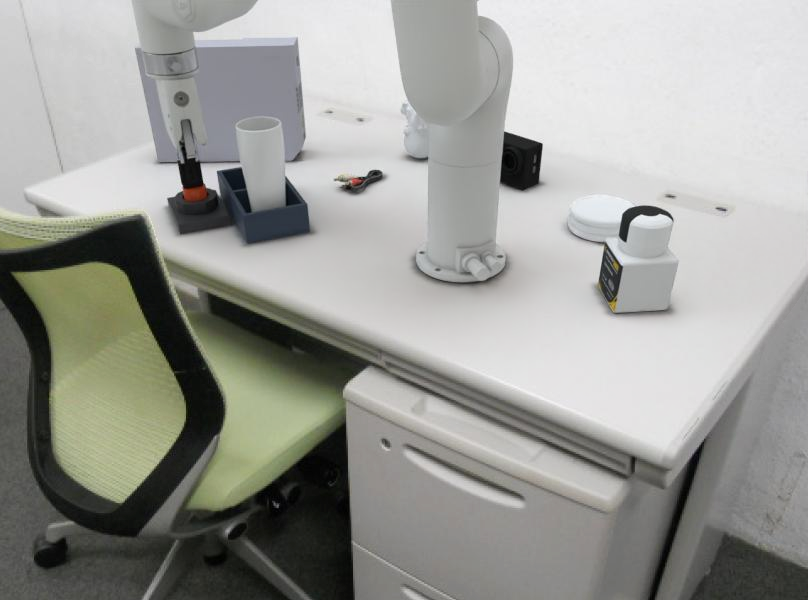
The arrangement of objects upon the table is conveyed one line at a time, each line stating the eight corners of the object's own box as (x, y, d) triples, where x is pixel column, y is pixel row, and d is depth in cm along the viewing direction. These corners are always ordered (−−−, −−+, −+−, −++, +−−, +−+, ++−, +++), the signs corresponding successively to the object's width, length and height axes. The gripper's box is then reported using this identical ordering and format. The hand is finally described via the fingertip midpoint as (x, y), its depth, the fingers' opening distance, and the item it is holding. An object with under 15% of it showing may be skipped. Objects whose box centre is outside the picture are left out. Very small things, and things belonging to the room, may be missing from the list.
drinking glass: (284, 231, 118) (273, 132, 108) (242, 228, 119) (227, 130, 110) (297, 212, 123) (287, 116, 114) (256, 210, 124) (243, 115, 115)
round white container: (644, 223, 118) (649, 202, 116) (621, 249, 112) (625, 227, 110) (582, 209, 123) (585, 188, 121) (556, 233, 117) (559, 211, 114)
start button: (209, 200, 122) (207, 188, 121) (186, 204, 121) (184, 192, 120) (205, 191, 125) (203, 180, 124) (182, 195, 124) (180, 183, 123)
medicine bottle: (596, 286, 104) (610, 201, 97) (649, 283, 104) (667, 198, 97) (612, 314, 98) (629, 226, 91) (668, 310, 99) (689, 223, 91)
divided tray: (310, 232, 119) (307, 204, 116) (247, 244, 116) (242, 215, 114) (277, 187, 133) (274, 161, 130) (220, 197, 131) (216, 170, 128)
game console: (165, 151, 148) (143, 39, 136) (307, 150, 147) (297, 36, 135) (157, 162, 144) (134, 47, 132) (303, 161, 143) (293, 45, 130)
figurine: (393, 156, 143) (392, 89, 136) (419, 147, 147) (419, 81, 139) (420, 166, 139) (420, 97, 132) (446, 156, 143) (448, 88, 135)
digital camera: (471, 175, 135) (473, 135, 131) (492, 167, 138) (495, 127, 134) (517, 192, 129) (521, 151, 125) (538, 183, 132) (543, 142, 127)
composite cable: (376, 173, 137) (376, 159, 136) (394, 181, 134) (394, 167, 133) (332, 188, 132) (331, 174, 131) (349, 197, 129) (349, 182, 128)
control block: (231, 225, 122) (227, 204, 120) (180, 234, 120) (175, 213, 118) (216, 199, 130) (213, 179, 128) (168, 207, 128) (164, 187, 126)
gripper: (207, 72, 106) (226, 199, 117) (188, 46, 117) (207, 165, 128) (151, 78, 104) (176, 207, 115) (137, 52, 115) (161, 172, 126)
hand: (192, 185), depth 122 cm, fingers closed
